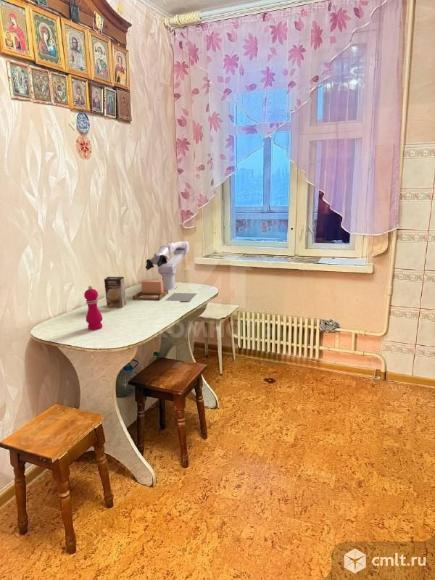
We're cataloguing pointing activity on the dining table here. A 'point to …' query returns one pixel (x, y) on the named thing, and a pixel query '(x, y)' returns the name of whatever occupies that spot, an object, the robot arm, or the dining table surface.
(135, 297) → the rack
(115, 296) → the coffee box
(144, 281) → the salmon orange block
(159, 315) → the dining table surface
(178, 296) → the mat
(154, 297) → the offcut top
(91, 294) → the pepper mill
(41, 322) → the dining table surface
